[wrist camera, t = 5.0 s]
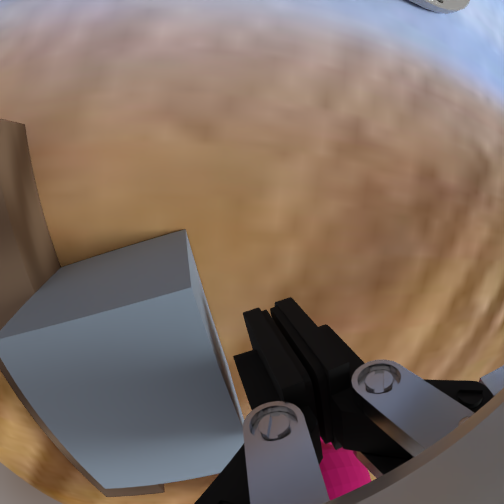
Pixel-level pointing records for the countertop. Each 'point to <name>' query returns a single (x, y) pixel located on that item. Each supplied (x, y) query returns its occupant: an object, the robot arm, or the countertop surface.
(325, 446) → the pepper mill
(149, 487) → the board
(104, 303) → the block
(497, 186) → the countertop surface
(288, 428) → the robot arm
